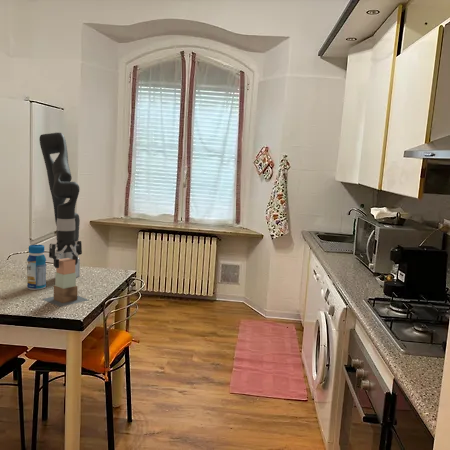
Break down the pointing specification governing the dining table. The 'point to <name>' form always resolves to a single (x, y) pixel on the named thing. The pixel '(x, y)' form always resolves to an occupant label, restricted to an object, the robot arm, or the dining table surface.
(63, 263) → the terracotta cube
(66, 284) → the sage block
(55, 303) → the slate mat
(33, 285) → the beverage bottle
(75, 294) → the walnut block
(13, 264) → the dining table surface
